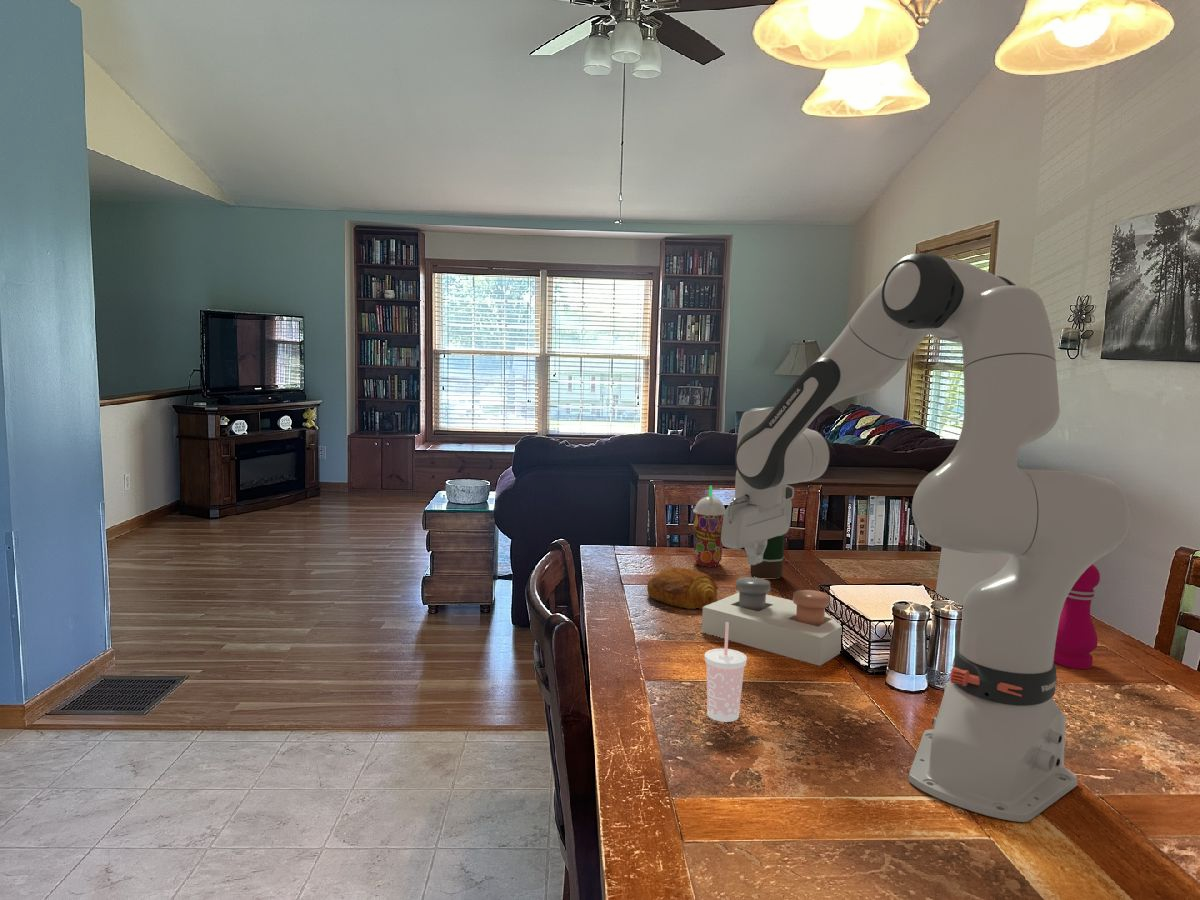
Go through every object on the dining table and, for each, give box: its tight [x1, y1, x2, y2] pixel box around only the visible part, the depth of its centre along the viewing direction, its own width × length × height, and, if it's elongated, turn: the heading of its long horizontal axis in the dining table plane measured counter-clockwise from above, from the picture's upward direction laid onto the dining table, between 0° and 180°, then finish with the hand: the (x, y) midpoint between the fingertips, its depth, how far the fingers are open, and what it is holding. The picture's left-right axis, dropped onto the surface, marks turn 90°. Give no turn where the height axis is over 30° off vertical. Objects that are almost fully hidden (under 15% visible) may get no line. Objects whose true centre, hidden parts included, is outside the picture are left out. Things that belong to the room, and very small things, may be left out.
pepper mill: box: [1053, 563, 1101, 670], centre depth 144 cm, size 7×7×20 cm
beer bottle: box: [750, 533, 786, 578], centre depth 196 cm, size 8×8×24 cm
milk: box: [935, 547, 1011, 605], centre depth 166 cm, size 12×12×26 cm
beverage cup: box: [704, 622, 748, 723], centre depth 120 cm, size 6×6×14 cm
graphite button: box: [735, 576, 771, 611], centre depth 157 cm, size 6×6×6 cm
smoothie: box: [692, 485, 726, 567], centre depth 205 cm, size 8×8×20 cm
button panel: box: [701, 592, 842, 667], centre depth 154 cm, size 16×24×5 cm, turn 50°
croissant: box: [646, 566, 719, 610], centre depth 176 cm, size 14×16×8 cm
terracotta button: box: [792, 589, 831, 627], centre depth 150 cm, size 6×6×6 cm
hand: (754, 563), depth 157 cm, fingers closed
